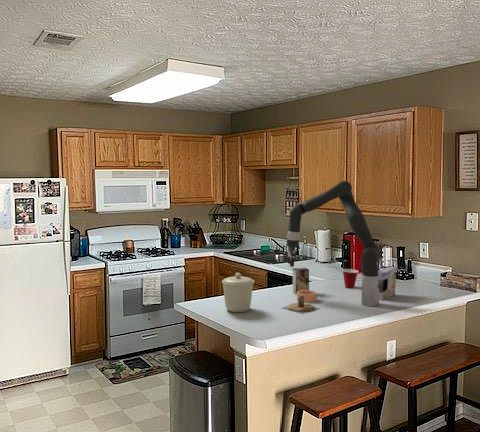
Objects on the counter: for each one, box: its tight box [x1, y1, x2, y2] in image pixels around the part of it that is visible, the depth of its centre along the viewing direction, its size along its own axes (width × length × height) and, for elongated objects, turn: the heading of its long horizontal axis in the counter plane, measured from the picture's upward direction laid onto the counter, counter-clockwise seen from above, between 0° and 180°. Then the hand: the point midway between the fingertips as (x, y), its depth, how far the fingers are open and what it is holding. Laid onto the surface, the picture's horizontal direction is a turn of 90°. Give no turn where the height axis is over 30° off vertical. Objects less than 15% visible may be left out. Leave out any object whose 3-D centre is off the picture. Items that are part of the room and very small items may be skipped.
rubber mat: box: [281, 305, 321, 315], centre depth 279 cm, size 16×16×1 cm
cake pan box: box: [378, 266, 397, 301], centre depth 306 cm, size 19×5×18 cm, turn 136°
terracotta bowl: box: [296, 289, 318, 304], centre depth 297 cm, size 11×11×5 cm
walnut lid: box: [287, 295, 315, 313], centre depth 278 cm, size 15×15×7 cm
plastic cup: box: [341, 268, 359, 289], centre depth 332 cm, size 11×11×12 cm
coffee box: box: [292, 267, 310, 295], centre depth 315 cm, size 9×6×16 cm
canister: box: [221, 272, 255, 313], centre depth 275 cm, size 18×18×21 cm
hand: (290, 265), depth 301 cm, fingers open, 8 cm apart
